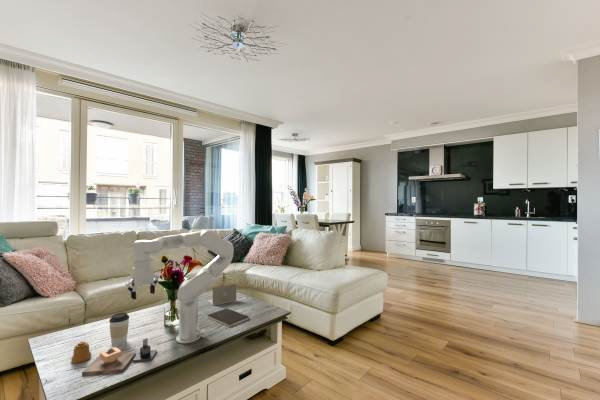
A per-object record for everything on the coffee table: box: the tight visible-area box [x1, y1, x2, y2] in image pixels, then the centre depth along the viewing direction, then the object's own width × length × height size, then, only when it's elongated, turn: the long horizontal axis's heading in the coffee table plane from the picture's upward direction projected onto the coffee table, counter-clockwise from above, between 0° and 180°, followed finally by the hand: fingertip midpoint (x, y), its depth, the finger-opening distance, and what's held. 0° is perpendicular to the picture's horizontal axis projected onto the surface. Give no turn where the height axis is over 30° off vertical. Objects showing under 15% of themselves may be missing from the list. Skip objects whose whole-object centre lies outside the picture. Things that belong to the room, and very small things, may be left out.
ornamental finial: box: [70, 341, 92, 364], centre depth 136 cm, size 8×8×8 cm
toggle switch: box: [81, 347, 137, 377], centre depth 131 cm, size 16×14×8 cm
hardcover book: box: [206, 307, 250, 328], centre depth 184 cm, size 16×23×2 cm
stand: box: [132, 337, 158, 363], centre depth 138 cm, size 8×8×8 cm
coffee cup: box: [109, 312, 130, 347], centre depth 152 cm, size 9×9×15 cm
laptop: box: [207, 283, 237, 306], centre depth 217 cm, size 18×12×13 cm
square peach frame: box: [99, 346, 122, 363], centre depth 131 cm, size 6×6×2 cm
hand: (143, 296), depth 151 cm, fingers open, 9 cm apart
